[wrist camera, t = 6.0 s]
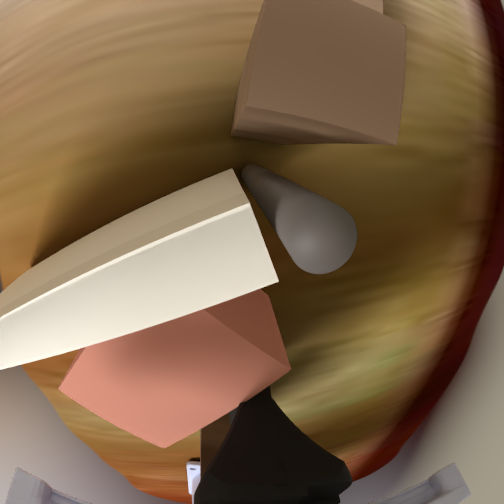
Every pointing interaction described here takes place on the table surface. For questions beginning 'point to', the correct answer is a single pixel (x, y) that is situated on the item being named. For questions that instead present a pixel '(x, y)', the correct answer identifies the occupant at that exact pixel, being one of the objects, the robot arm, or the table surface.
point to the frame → (314, 120)
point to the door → (138, 273)
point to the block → (181, 369)
